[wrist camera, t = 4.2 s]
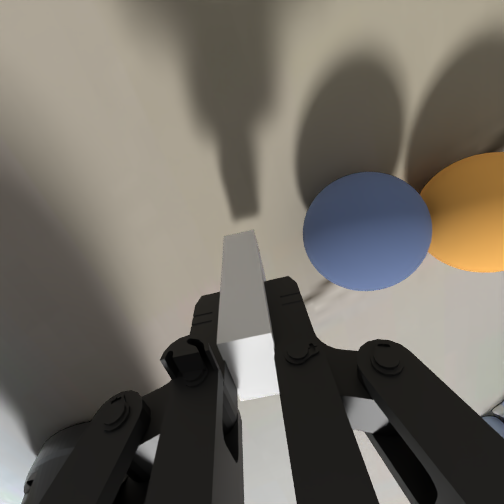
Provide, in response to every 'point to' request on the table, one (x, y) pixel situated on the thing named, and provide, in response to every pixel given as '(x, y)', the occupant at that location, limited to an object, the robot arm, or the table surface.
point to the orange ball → (468, 213)
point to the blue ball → (367, 231)
